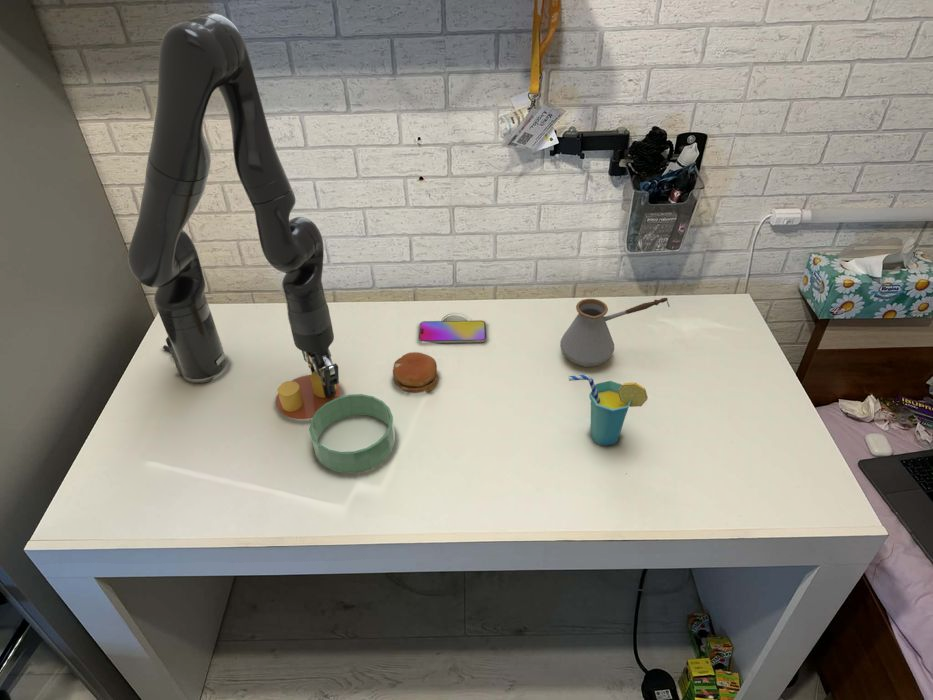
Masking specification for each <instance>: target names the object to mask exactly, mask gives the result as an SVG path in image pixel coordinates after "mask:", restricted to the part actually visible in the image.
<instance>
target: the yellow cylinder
mask: <svg viewBox="0 0 933 700" xmlns="http://www.w3.org/2000/svg"><path fill="white" fill-rule="evenodd" d="M277 395H279V398H280V402H281V405H282V408H283V409H284V410H285V411H288V412H293V411H296V410H298V409H300V408H301V407H302V405H303V399H302V395H301V391H300V387H299V384H298V383H297V382H294V381H292V380H287V381H284V382H282V383H281V384H279V386H277Z"/></svg>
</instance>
